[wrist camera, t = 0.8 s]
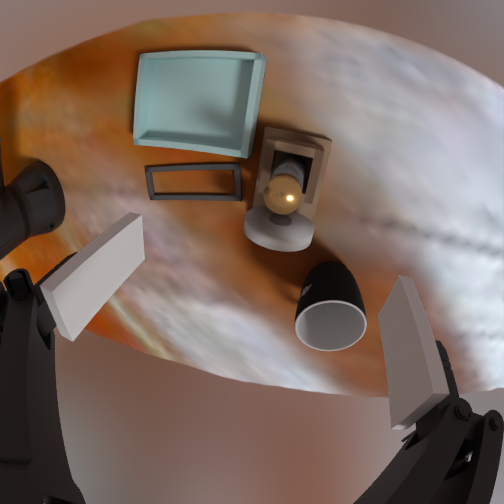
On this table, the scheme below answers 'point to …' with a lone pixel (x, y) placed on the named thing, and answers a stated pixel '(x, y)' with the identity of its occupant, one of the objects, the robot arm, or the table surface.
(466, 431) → the robot arm
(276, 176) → the pin
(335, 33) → the table surface
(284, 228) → the tensioner block
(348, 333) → the mug
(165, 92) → the tray
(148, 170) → the dark gray rectangular frame
